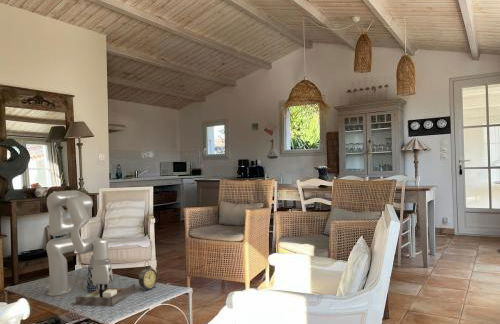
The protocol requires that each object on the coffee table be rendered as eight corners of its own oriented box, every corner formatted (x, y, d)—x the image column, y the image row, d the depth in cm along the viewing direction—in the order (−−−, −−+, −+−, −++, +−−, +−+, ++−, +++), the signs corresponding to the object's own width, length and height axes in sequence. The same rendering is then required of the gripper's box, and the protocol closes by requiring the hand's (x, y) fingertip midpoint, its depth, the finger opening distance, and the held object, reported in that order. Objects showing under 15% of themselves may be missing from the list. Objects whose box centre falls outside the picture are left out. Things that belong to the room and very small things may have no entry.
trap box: (75, 304, 202) (75, 295, 202) (101, 291, 223) (101, 283, 223) (112, 306, 196) (111, 297, 196) (135, 292, 218) (135, 284, 218)
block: (103, 300, 201) (102, 292, 201) (109, 296, 205) (108, 289, 205) (111, 300, 199) (110, 292, 199) (117, 297, 204) (116, 289, 204)
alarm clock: (144, 293, 215) (142, 264, 215) (137, 291, 218) (136, 263, 218) (158, 287, 224) (157, 259, 225) (151, 286, 227) (150, 258, 227)
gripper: (117, 260, 206) (119, 294, 206) (93, 260, 210) (95, 294, 210) (109, 264, 199) (111, 299, 199) (84, 263, 203) (86, 298, 203)
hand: (103, 296), depth 204 cm, fingers closed
